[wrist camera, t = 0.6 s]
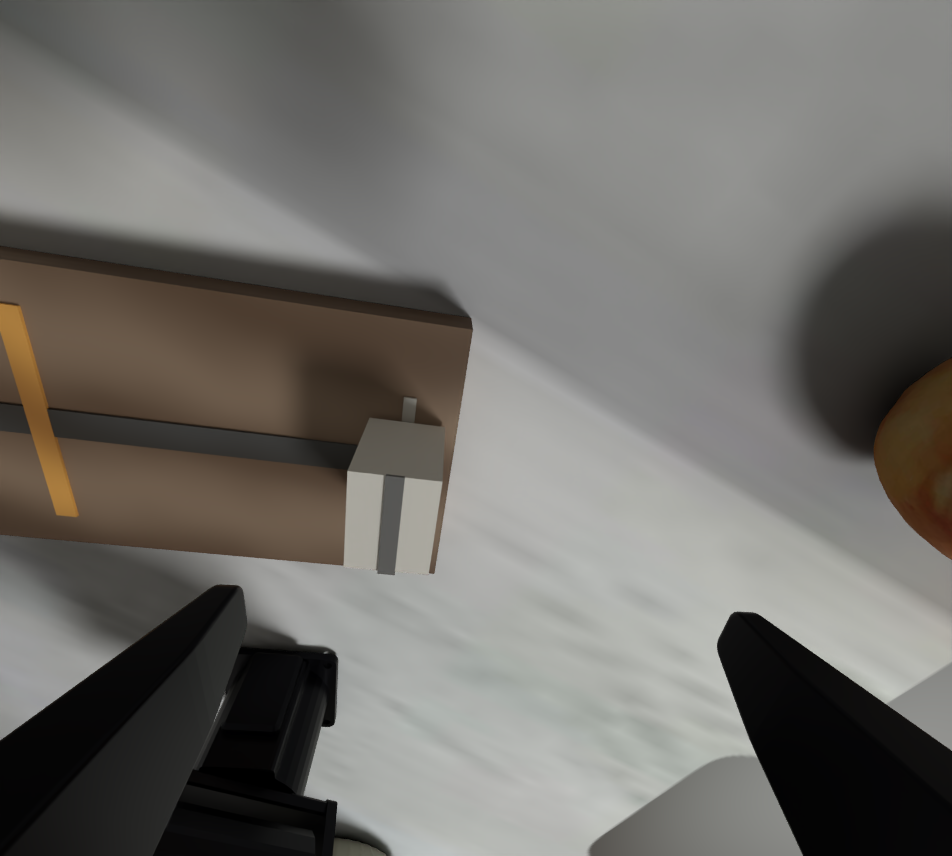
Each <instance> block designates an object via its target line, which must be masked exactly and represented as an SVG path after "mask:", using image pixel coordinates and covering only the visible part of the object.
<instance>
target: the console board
mask: <svg viewBox="0 0 952 856" xmlns="http://www.w3.org/2000/svg"><path fill="white" fill-rule="evenodd" d="M472 332H473V327H472V320H471V318H468V317H462V316H455V315H449V314H442V313H436V312H429V311H423V310H416V309H410V308H403V307H396V306H390V305H383V304H377V303H370V302H364V301H357V300H351V299H344V298H338V297H331V296H324V295H318V294H311V293H305V292H298V291H292V290H285V289H279V288H272V287H266V286H259V285H252V284H246V283H239V282H233V281H226V280H220V279H213V278H207V277H200V276H194V275H187V274H180V273H174V272H167V271H161V270H154V269H148V268H141V267H135V266H128V265H122V264H115V263H109V262H102V261H95V260H89V259H82V258H76V257H69V256H63V255H56V254H50V253H43V252H37V251H30V250H23V249H17V248H10V247H4V246H0V535H10V536H21V537H32V538H44V539H55V540H66V541H77V542H88V543H99V544H110V545H121V546H132V547H143V548H155V549H166V550H177V551H188V552H199V553H210V554H221V555H232V556H243V557H254V558H265V559H277V560H288V561H299V562H310V563H321V564H332V565H343V566H344V543H345V519H346V494H347V471H348V468H349V466H350V464H351V461H352V459H353V456H354V454H355V452H356V449H357V447H358V444H359V442H360V440H361V437H362V435H363V432H364V430H365V428H366V425H367V423H368V420H369V418H377V419H385V420H393V421H400V422H408V423H416V424H424V425H432V426H440V427H445V442H444V463H443V482H442V489H441V496H440V502H439V509H438V515H437V522H436V529H435V535H434V542H433V549H432V555H431V562H430V569H429V573H432V574H434V572H435V566H436V560H437V553H438V547H439V541H440V534H441V528H442V522H443V515H444V509H445V503H446V496H447V490H448V484H449V477H450V471H451V465H452V458H453V452H454V446H455V439H456V433H457V427H458V420H459V414H460V408H461V401H462V395H463V389H464V382H465V376H466V370H467V363H468V357H469V351H470V344H471V338H472Z"/></svg>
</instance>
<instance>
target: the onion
mask: <svg viewBox="0 0 952 856" xmlns="http://www.w3.org/2000/svg"><path fill="white" fill-rule="evenodd" d="M874 461H875V466H876V470H877V473H878V476H879V479H880V482H881V484H882V486H883V488H884V490H885V492H886V494H887V496H888V498H889V499H890V501H891V502H892V504H893V505H894V507H895V508H896V509H897V510H898V512H899V513H900V515H901V516H902V517H903V519H904V520H905V521H906V522H907V523H908V525H909V526H911V527H912V528H913V529H914V530H915V531H916V532H917V533H918V534H919V535H920V536H921V537H922V538H924V539H925V540H926V541H927V542H928V543H930V544H931V545H932V546H933V547H934V548H936V549H937V550H938V551H940V552H941V553H942V554H943V555H945V556H946V557H948V558H950V559H951V560H952V358H950V359H948V360H947V361H945V362H943V363H941V364H940V365H938V366H937V367H935V368H934V369H932V370H931V371H929V372H928V373H926V374H925V375H924V376H923V377H921V378H920V379H919V380H917V381H916V382H915V383H913V384H912V385H911V386H909V387H908V388H907V389H906V390H905V391H904V392H903V394H902V395H901V396H900V398H899V399H898V400H897V402H896V403H895V405H894V406H893V407H892V409H891V410H890V411H889V412H888V414H887V415H886V416H885V418H884V419H883V420H882V422H881V424H880V426H879V429H878V431H877V435H876V438H875V443H874Z"/></svg>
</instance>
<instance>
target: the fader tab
mask: <svg viewBox="0 0 952 856" xmlns="http://www.w3.org/2000/svg"><path fill="white" fill-rule="evenodd" d="M444 442H445V427H440V426H432V425H424V424H416V423H408V422H400V421H393V420H385V419H377V418H369V420H368V423H367V425H366V428H365V430H364V432H363V435H362V437H361V440H360V442H359V444H358V447H357V449H356V452H355V454H354V456H353V459H352V461H351V464H350V466H349V468H348V471H347V494H346V519H345V543H344V567H345V568H356V569H368V570H378V572H377V574H388V575H395V572H401V573H412V574H423V575H429V569H430V562H431V555H432V549H433V542H434V535H435V529H436V522H437V515H438V509H439V502H440V496H441V489H442V482H443V463H444Z"/></svg>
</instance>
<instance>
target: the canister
mask: <svg viewBox="0 0 952 856" xmlns="http://www.w3.org/2000/svg"><path fill="white" fill-rule="evenodd" d="M333 856H386V855H385V853H383V852H381V851H379V850H378V849H377V848H374V847H370V845H367V844H362V843H360V842H358V841H352V840H349V839H340V838H334V847H333Z"/></svg>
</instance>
